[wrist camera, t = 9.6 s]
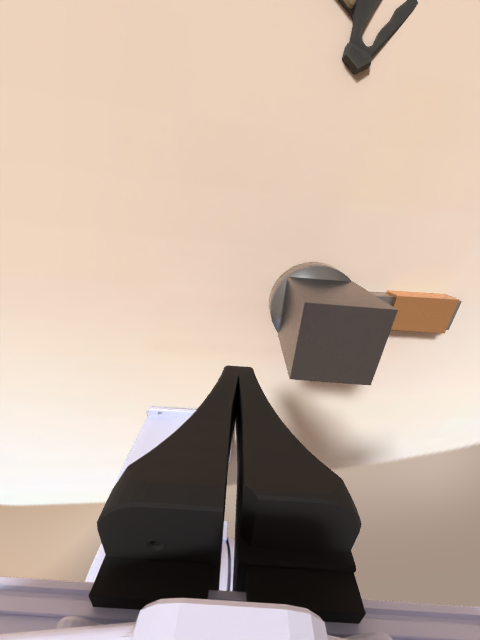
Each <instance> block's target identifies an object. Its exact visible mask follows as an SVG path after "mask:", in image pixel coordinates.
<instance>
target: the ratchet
mask: <svg viewBox="0 0 480 640" xmlns="http://www.w3.org/2000/svg"><path fill="white" fill-rule="evenodd" d="M287 277H299V278H311V279H324V280H336V281H349V282H351V280H350V279H349V278H348V277H347V276H346V275H345V274H343V273H342V272H340V271H338V270H337V269H335V268H333V267H332V266H329V265H327V264H323V263H318V262H309V263H303V264H299V265H297V266H294V267H293V268H291V269H289V270H288V271H286V272H285V273H284V274H283V275H282V276H280V278H279V279H278V280H277V281H276V283H275V285H274V286H273V288H272V291H271V294H270V299H269V309H270V313H271V317H272V322H273V324H274V327H275V328H276V330H277V332H278V333H279V327H280V320H281V314H282V308H283V301H284V295H285V288H286V282H287ZM370 293H372V294H373V295H375V296H377V297H378V298H380V299H381V300H383V301H385V302H386V303H388V304H390V305H391V306H393V307H394V308H396V309H398V312H397V314H396V317H395V320H394V322H393V325H392V328H391V330H402V331H417V332H433V333H445V331H446V330H449V328H450V326H451V324H452V321H453V319H454V317H455V315H456V313H457V310H458V308H459V306H460V304H461V302H462V301H459V299H456V298H454V297H451V296H448V295H446V294H434V293H418V292H402V291H387V293H382V292H370Z"/></svg>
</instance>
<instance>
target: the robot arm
mask: <svg viewBox="0 0 480 640" xmlns="http://www.w3.org/2000/svg"><path fill="white" fill-rule="evenodd" d="M161 412H162V413H161ZM235 418H236V440H237V462H238V475H237V500H236V523H235V540H234V539H233V538H229V537H227V530H228V522H227V521H226V520H224V512H225V499H226V486H227V472H228V464H229V463H230V462H231V451H232V438H233V431H234V425H235ZM97 527H98V532H99V536H100V538H101V542H102V544H101V545H100V548H99V550H98V552H97V554H96V557H95V559H94V561H93V563H92V566H91V568H90V570H89V573H88V576H87V578H86V580H85V582H81V581H65V580H48V579H33V578H17V577H1V576H0V640H480V607H473V606H472V607H471V606H456V605H441V604H426V603H410V602H394V601H378V600H363V599H361V596H360V592H359V589H358V586H357V583H356V579H355V576H354V572H355V571H356V565H355V562H354V559H353V556H352V553H351V549H352V547H353V545H354V542H355V540H356V538H357V536H358V534H359V532H360V528H361V521H360V517H359V515H358V512H357V509H356V507H355V504H354V502H353V500H352V498H351V496H350V494H349V492H348V490H347V488H346V486H345V484H344V482H343V480H342V479H341V478H340V477H339V476H338V475H336V474H335V473H334V472H333V471H331V470H330V469H329V468H328V467H326V466H325V465H324V464H323V463H322V462H320V461H319V460H318V459H317V458H316V457H315V456H314V455H313V454H311V453H310V452H309V451H308V450H307V449H306V448H305V447H304V446H303V445H302V444H301V442H300V441H299V440H298V439H297V438H296V437H295V436H294V435H293V434H292V433H291V432H290V430H289V429H288V428H287V427H286V426H285V424H284V423H283V422H282V421H281V419H280V418H279V417H278V415H277V414H276V412H275V411H274V409H273V408H272V406H271V405H270V403H269V402H268V400H267V398H266V396H265V395H264V393H263V391H262V389H261V387H260V385H259V383H258V381H257V379H256V376H255V374H254V370H253V369H252V368H251V367H239V366H226V367H224V370H223V372H222V375H221V376H220V378H219V380H218V382H217V383H216V385H215V386H214V388H213V389H212V391H211V392H210V394H209V395H208V396H207V398H206V399H205V400H204V402H203V403H202V404H201V405H200V407H199V408H198V409H197V410H192V409H176V408H160V407H149V408H148V409H147V418H146V420H145V422H144V424H143V426H142V428H141V430H140V432H139V434H138V436H137V438H136V440H135V442H134V444H133V446H132V448H131V450H130V452H129V454H128V456H127V458H126V460H125V462H124V464H123V467H122V469H121V472H120V474H119V477H118V481H117V483H116V485H115V486H114V488H113V490H112V492H111V494H110V496H109V498H108V500H107V502H106V504H105V506H104V508H103V510H102V513H101V515H100V517H99V519H98V521H97Z"/></svg>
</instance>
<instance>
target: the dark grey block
mask: <svg viewBox="0 0 480 640" xmlns="http://www.w3.org/2000/svg"><path fill="white" fill-rule="evenodd" d="M397 312H398V309H396V308H394V307H393V306H391V305H390V304H388V303H386V302H385V301H383V300H381V299H380V298H378V297H377V296H375V295H373V294H372V293H370V292H369V291H367V290H365V289H364V288H362V287H360V286H359V285H357V284H356V283H354V282H349V281H336V280H324V279H311V278H299V277H287V282H286V288H285V295H284V301H283V308H282V314H281V320H280V327H279V333H278V336H279V340H280V344H281V348H282V351H283V355H284V359H285V363H286V367H287V370H288V374H289V378H290V379H296V380H309V381H322V382H335V383H348V384H361V385H371V382H372V380H373V377H374V374H375V372H376V369H377V366H378V363H379V361H380V358H381V355H382V352H383V350H384V347H385V344H386V342H387V339H388V336H389V333H390V331H391V328H392V325H393V322H394V320H395V317H396V314H397Z"/></svg>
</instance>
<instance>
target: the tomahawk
mask: <svg viewBox="0 0 480 640" xmlns="http://www.w3.org/2000/svg"><path fill="white" fill-rule="evenodd" d="M380 1H381V0H339V2H340V3H341V4H342V6H343V7H344V8H345V10H346V11H347V12H348V13H349V15H351V16H352V19H353V28H352V33H351V37H350V42H349V43H348V44H347V46H346V47H345V50H344V54H343V58H342V60H343V62H344V63H345V64H346V65H347V67H348V68H349V69H350V70H351V72H352V73H353V74H357V73H359V72H361V71H363V70H365V69H367V68H368V67H369V66H370V65H371V57H372V56H373V55H374V54H375V53H376V52H377V51H378V50H379V49H380V48H381V47H382V46H383V45H384V44H385V43H386V42H387V41H388V40H389V39H390V37H391V36H392V35H393V34H394V33H395V32H396V31H397V30H398V29H399V27H400V26H401V25H402V24H403V23H404V21H405V20H406V19H407V18H408V17H409V15H410V14H411V13H412V11H413V10H414V8H415V7H416V6H417V4H418V2H417V0H407V1H406V2H405V3H403V4H402V5H401V6H400V7H399V8H397V9H396V10H395V12H394V14H393V16H392V18H391V19H390V21H389V22H388V23H387V24H386V25H385V26H384V27H383V28H382V29H381V30H380V32H379V33H378V35H377V37H376V39H375V41H374V43H373V45H372V46H370V47H367V46H366V45H365V44H364V42H363V40H362V36H361V33H362V30H363V28H364V26H365V24H366V22H367V21H368V19H369V17H370V16H371V14H372V13H373V11H374V10H375V8H376V7H377V5H378V4H379V2H380Z"/></svg>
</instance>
